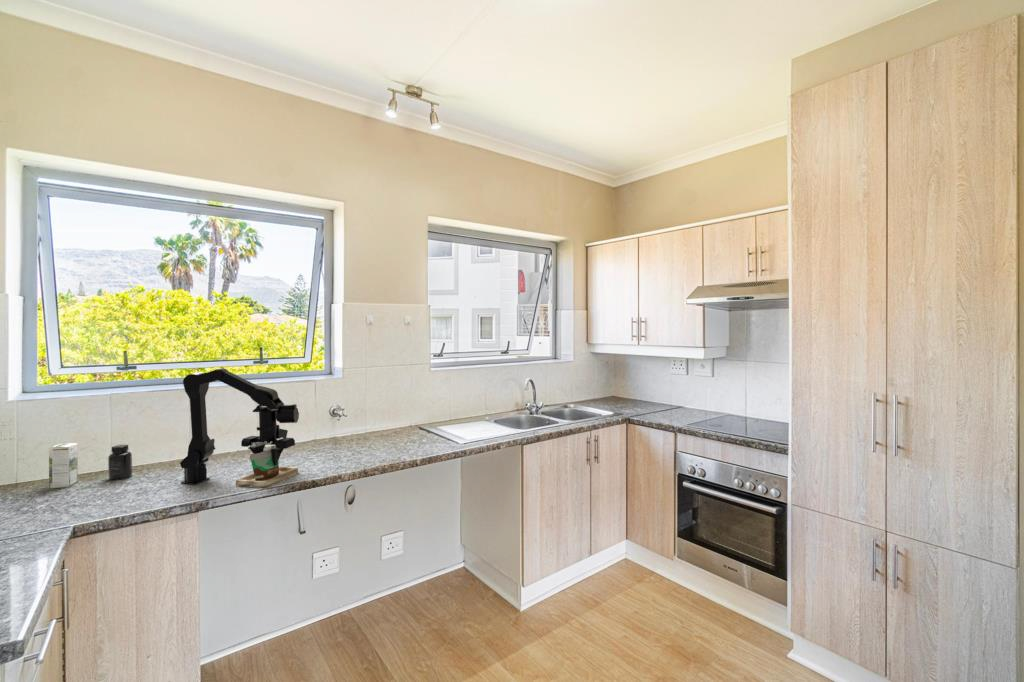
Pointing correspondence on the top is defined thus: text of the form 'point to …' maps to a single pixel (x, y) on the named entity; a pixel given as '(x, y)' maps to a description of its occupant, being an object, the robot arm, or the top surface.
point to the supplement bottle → (120, 463)
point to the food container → (264, 465)
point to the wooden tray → (265, 483)
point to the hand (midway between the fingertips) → (268, 465)
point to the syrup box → (63, 465)
